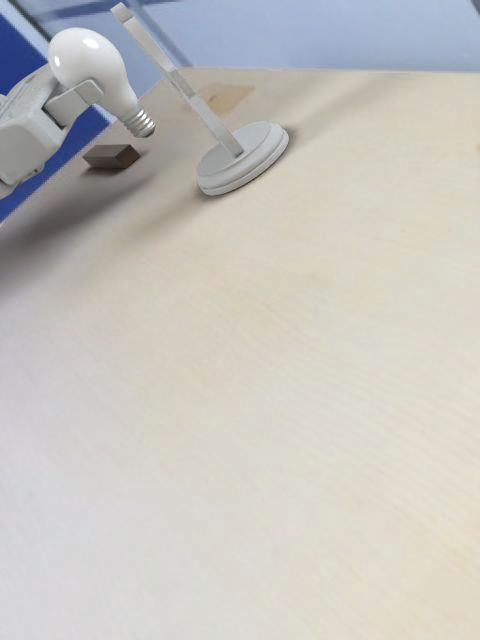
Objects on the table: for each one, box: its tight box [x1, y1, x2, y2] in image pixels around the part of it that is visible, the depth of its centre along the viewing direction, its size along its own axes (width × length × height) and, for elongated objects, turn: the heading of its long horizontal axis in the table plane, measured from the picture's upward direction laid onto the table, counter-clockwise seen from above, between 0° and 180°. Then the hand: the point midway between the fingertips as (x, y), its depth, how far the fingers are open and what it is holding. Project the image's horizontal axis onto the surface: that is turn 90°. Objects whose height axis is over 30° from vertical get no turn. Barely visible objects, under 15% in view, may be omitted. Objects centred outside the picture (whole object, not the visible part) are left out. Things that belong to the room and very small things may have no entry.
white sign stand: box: [109, 1, 290, 196], centre depth 67 cm, size 10×10×15 cm
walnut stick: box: [81, 143, 141, 169], centre depth 90 cm, size 10×2×2 cm, turn 57°
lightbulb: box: [46, 26, 157, 139], centre depth 75 cm, size 6×6×11 cm
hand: (105, 73), depth 74 cm, fingers closed on lightbulb, 6 cm apart
